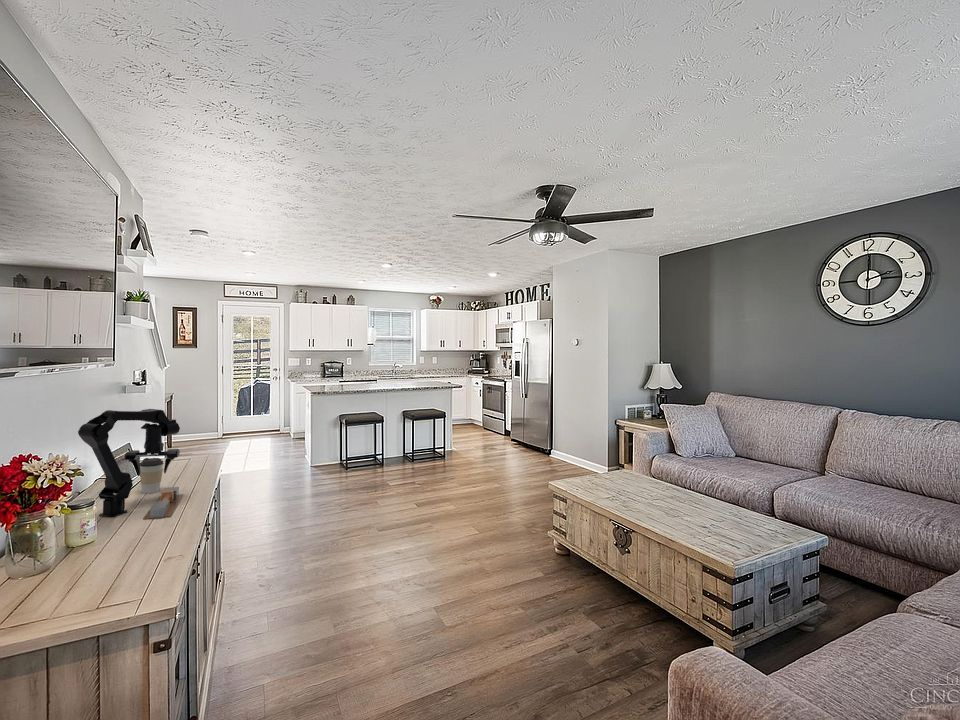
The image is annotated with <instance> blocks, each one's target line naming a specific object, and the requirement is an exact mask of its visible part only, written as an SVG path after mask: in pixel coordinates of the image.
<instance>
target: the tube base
mask: <svg viewBox="0 0 960 720" xmlns="http://www.w3.org/2000/svg"><path fill="white" fill-rule="evenodd" d="M165 490H174V500H173V501H172V502H170V500H167V501H161V495H159V497H158V498H157V499H156V500H155V502H154V504H153V505H152V506H151V507H150V509H149V510H148V511H147V513H146V514H145V515H144V517H143V520H151V519H152V520H153V519H164V518H166V517H167V518H171V517H172V515H173V514H174V512H175V511H176V509H177V507H178V506H179V504H180V502H181V500H182V499H183V497H184V496H185V495H184V493H181V494H180V486H171V487H170V486H169V487H164V488H163V490H162V491H165Z"/></svg>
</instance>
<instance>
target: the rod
mask: <svg viewBox="0 0 960 720" xmlns="http://www.w3.org/2000/svg"><path fill="white" fill-rule="evenodd" d="M160 496H161V501H167V500H170V502H172V501H173V500H174V490H165V491H163V490H162V491H161V493H160Z"/></svg>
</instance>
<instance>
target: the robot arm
mask: <svg viewBox="0 0 960 720" xmlns="http://www.w3.org/2000/svg"><path fill="white" fill-rule="evenodd" d="M118 421H141V422H145V423H144V425H142V426H141V427H140V429H141V430H145V439H144V440H145V441H144V444H143V448H144V451H140V449H138V450H137V449H136V450H129V451H127V452H126V453H125V454H124V460H125V461H126V460H127V461H128V462H130V463H131V464H132V465H133V466H134V468H135V470H136V473H137V475H139V476H140V463H141V458H144V457H145V458H148V457H164V456H165V457H166V458H165V461H164V467H163V473H164V474H166V473H167V470H168V468H169V466H170V464H171V462H172V461H173V460H175V459H177V458H178V457H179V456H180V449H179V448H171V449H170V448H169V449H168V450H167V451H164V447H165V445H164V443H163V440H162V437H167V436H173V435H177V434H178V433H179V432H180V430H181V429H180V425H179V423H178V422H177V419H174V418H173V419H169V418H168V416H167V415H166V413H165V411H164V410H162V409H155V408H145V409H142V410H137V411H136V410H111V409H109V410H104V411H103V412H102V413H101V414H99V415H97V416H95V417H93V418H92V419H91V418H90V420H88V422H86V423H84V424H82V425H81V426H80V427H79V429H78V431H77V434H78V437H80V438H81V440H82V441H83V442H84V443H85V444H87V445H88V446H89V447H91V449H92V450H93V451H92V452H93V454H94V455H95V457H96V459H97V461H98V463H99V466H100V467H101V469H102V472H103V473H104V475H105V480H104V487H103V489H102V490H101V491H100V492H99V493H98V497H99V500H103V503H102V512H101V513H99V515H98V516H100V517H109V518H114V517H118V516H120V515H122V514H125V513H127V512H128V509H125V502H126V499H128V498H129V496H130V493H131V491H132V488H133V482H134V479H132V476H131V474H130V472H129V473H128V472H123V471H122V470H121V468H120V466H119V465H118V463H117V459H115V457H114V454H113V452H112V450H111V447H110V446H109V444H108V441H109V436H110V435H109V432H111V430H112V429H113V428H114V426H115V424H116V423H117V422H118Z"/></svg>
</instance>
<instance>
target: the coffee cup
mask: <svg viewBox="0 0 960 720" xmlns="http://www.w3.org/2000/svg"><path fill="white" fill-rule="evenodd" d="M163 466H164V460H162V459H161V458H159V457H145V458H143V459H142V460H141V461H140V475H139V477H140V489H141V490H140V492H141V493H142V494H153V493H158V492H159V491H160V488H161V482H162V476H163V472H164V467H163Z"/></svg>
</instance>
